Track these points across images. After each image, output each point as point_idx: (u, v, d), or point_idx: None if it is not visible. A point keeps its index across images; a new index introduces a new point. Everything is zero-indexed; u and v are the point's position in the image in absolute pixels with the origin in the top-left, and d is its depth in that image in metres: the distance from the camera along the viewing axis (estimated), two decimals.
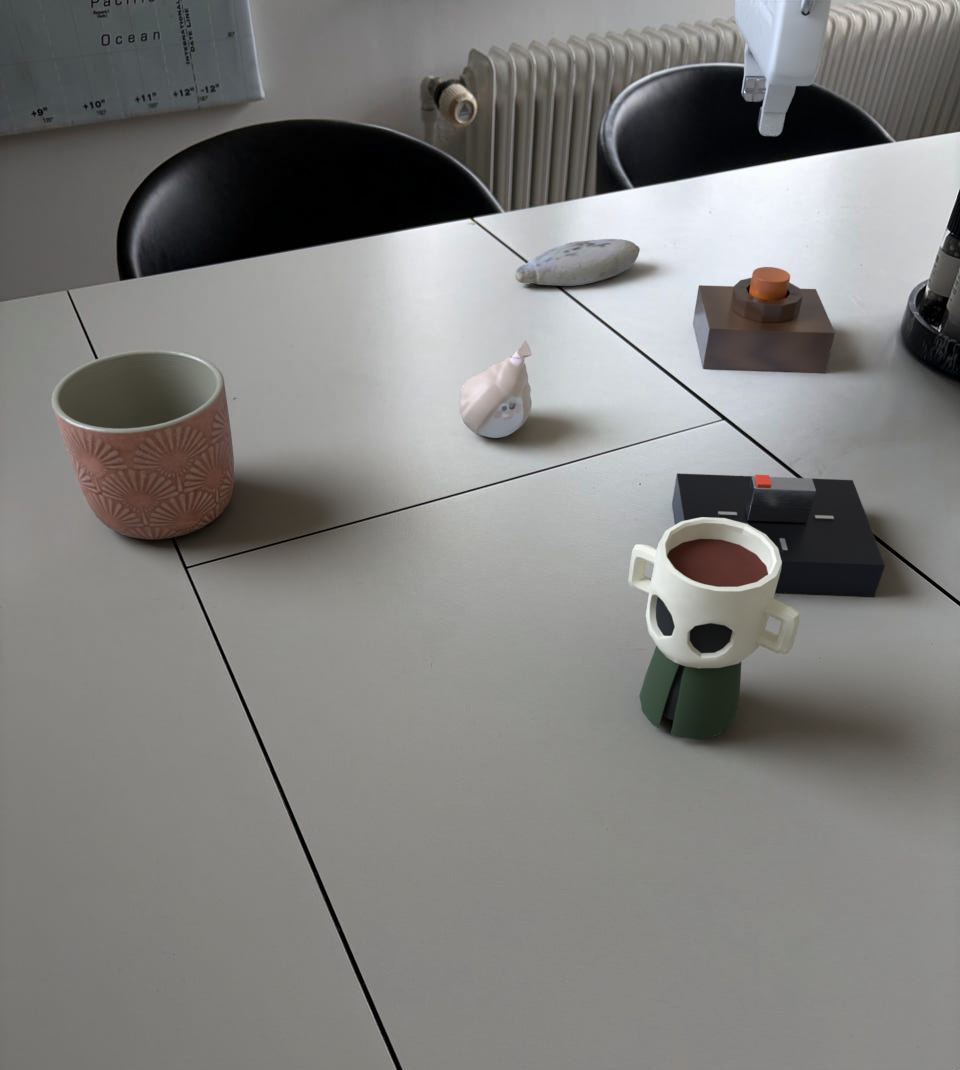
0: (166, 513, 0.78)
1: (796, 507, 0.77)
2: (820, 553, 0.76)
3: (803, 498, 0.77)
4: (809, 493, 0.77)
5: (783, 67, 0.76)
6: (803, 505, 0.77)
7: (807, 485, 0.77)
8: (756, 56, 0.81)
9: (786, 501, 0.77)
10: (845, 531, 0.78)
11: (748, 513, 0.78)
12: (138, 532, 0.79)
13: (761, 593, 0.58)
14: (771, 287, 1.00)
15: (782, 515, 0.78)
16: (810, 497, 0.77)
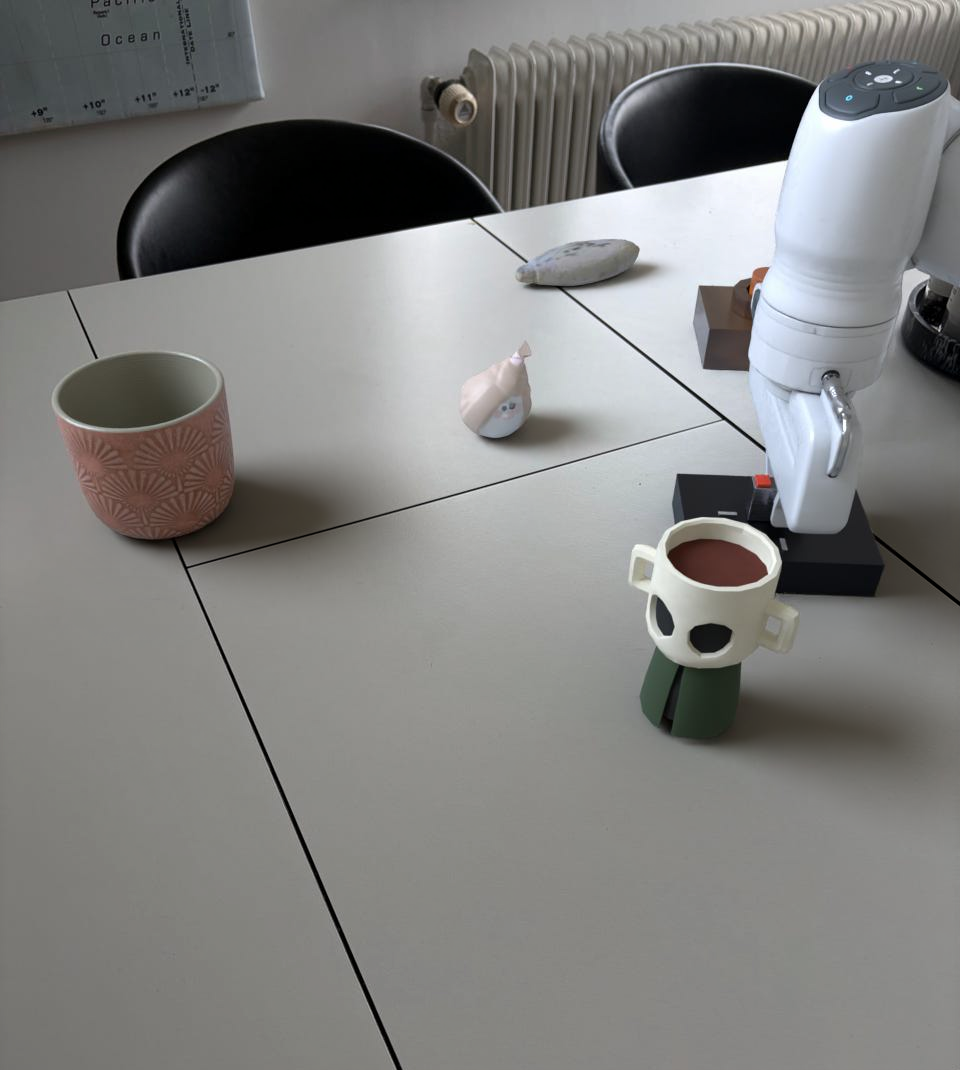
0: (166, 513, 0.78)
1: None
2: (820, 553, 0.76)
3: None
4: None
5: (806, 522, 0.67)
6: None
7: None
8: (774, 476, 0.73)
9: None
10: (845, 531, 0.78)
11: (748, 513, 0.78)
12: (138, 532, 0.79)
13: (761, 593, 0.58)
14: None
15: None
16: None
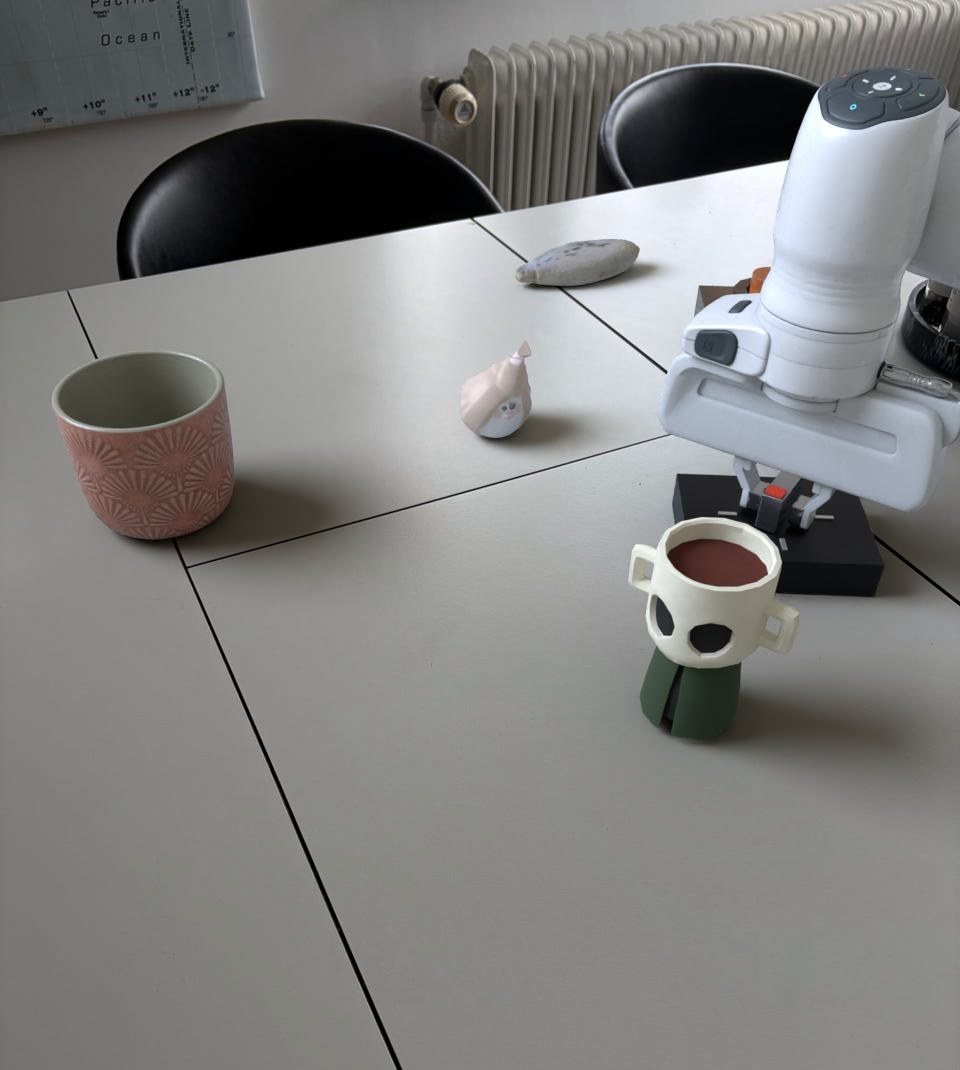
0: (166, 513, 0.78)
1: (795, 497, 0.78)
2: (820, 553, 0.76)
3: (799, 485, 0.78)
4: (802, 478, 0.78)
5: (929, 496, 0.70)
6: (797, 491, 0.79)
7: None
8: (829, 482, 0.73)
9: (792, 496, 0.78)
10: (845, 531, 0.78)
11: (773, 527, 0.77)
12: (138, 532, 0.79)
13: (761, 593, 0.58)
14: None
15: (788, 511, 0.78)
16: (801, 481, 0.78)
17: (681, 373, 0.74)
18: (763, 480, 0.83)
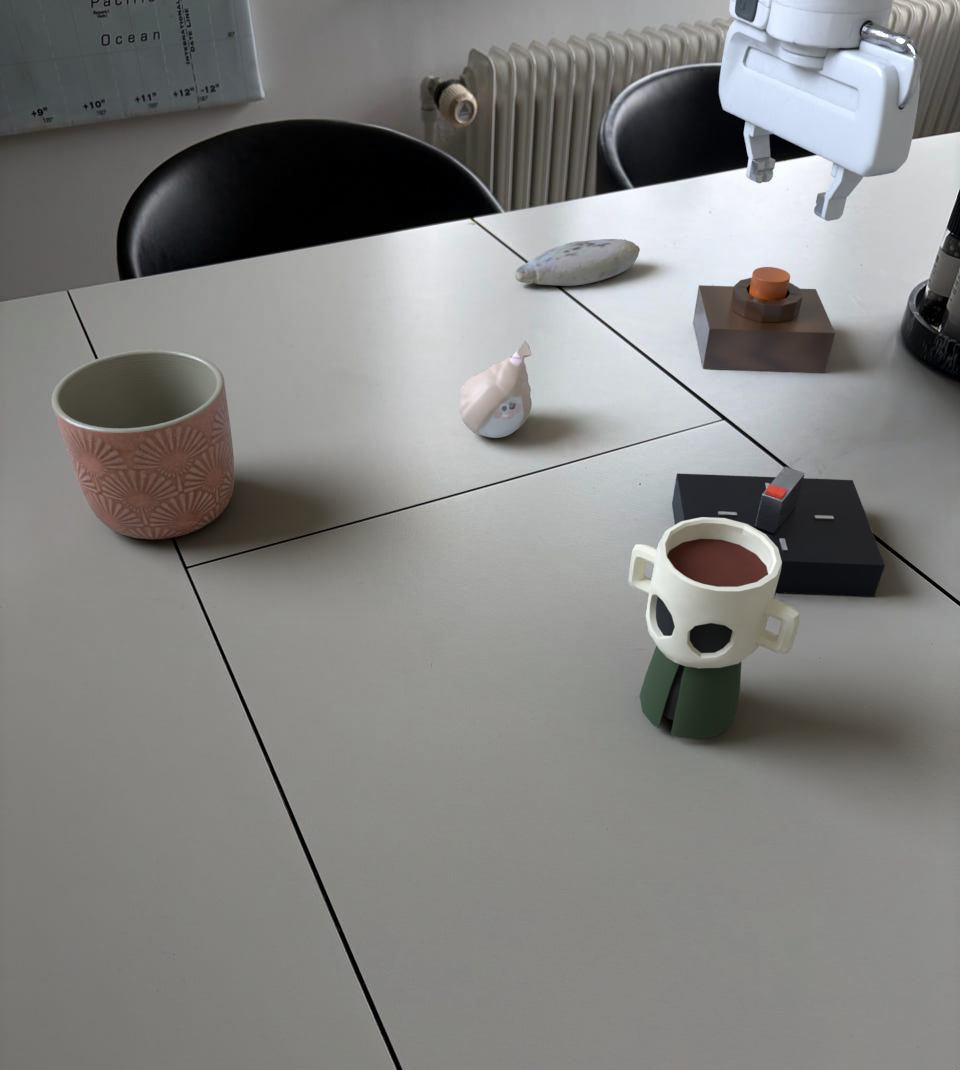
0: (166, 513, 0.78)
1: (795, 497, 0.78)
2: (820, 553, 0.76)
3: (799, 485, 0.78)
4: (802, 478, 0.78)
5: (882, 160, 0.76)
6: (797, 491, 0.79)
7: (795, 473, 0.78)
8: (814, 147, 0.81)
9: (792, 496, 0.78)
10: (845, 531, 0.78)
11: (773, 527, 0.77)
12: (138, 532, 0.79)
13: (761, 593, 0.58)
14: (771, 287, 1.00)
15: (788, 511, 0.78)
16: (801, 481, 0.78)
17: (730, 40, 0.85)
18: (763, 480, 0.83)
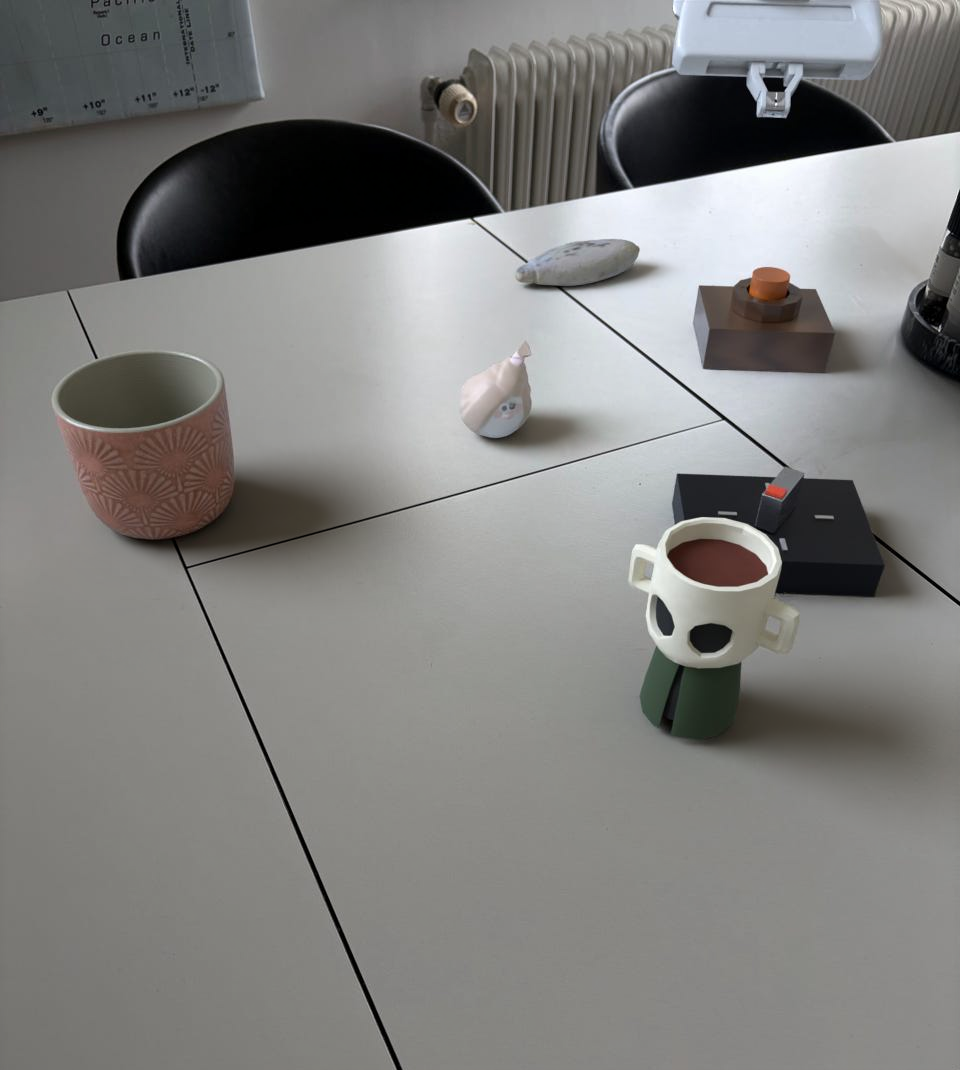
0: (166, 513, 0.78)
1: (795, 497, 0.78)
2: (820, 553, 0.76)
3: (799, 485, 0.78)
4: (802, 478, 0.78)
5: (672, 57, 1.05)
6: (797, 491, 0.79)
7: (795, 473, 0.78)
8: None
9: (792, 496, 0.78)
10: (845, 531, 0.78)
11: (773, 527, 0.77)
12: (138, 532, 0.79)
13: (762, 593, 0.58)
14: (771, 287, 1.00)
15: (788, 511, 0.78)
16: (801, 481, 0.78)
17: None
18: (763, 480, 0.83)
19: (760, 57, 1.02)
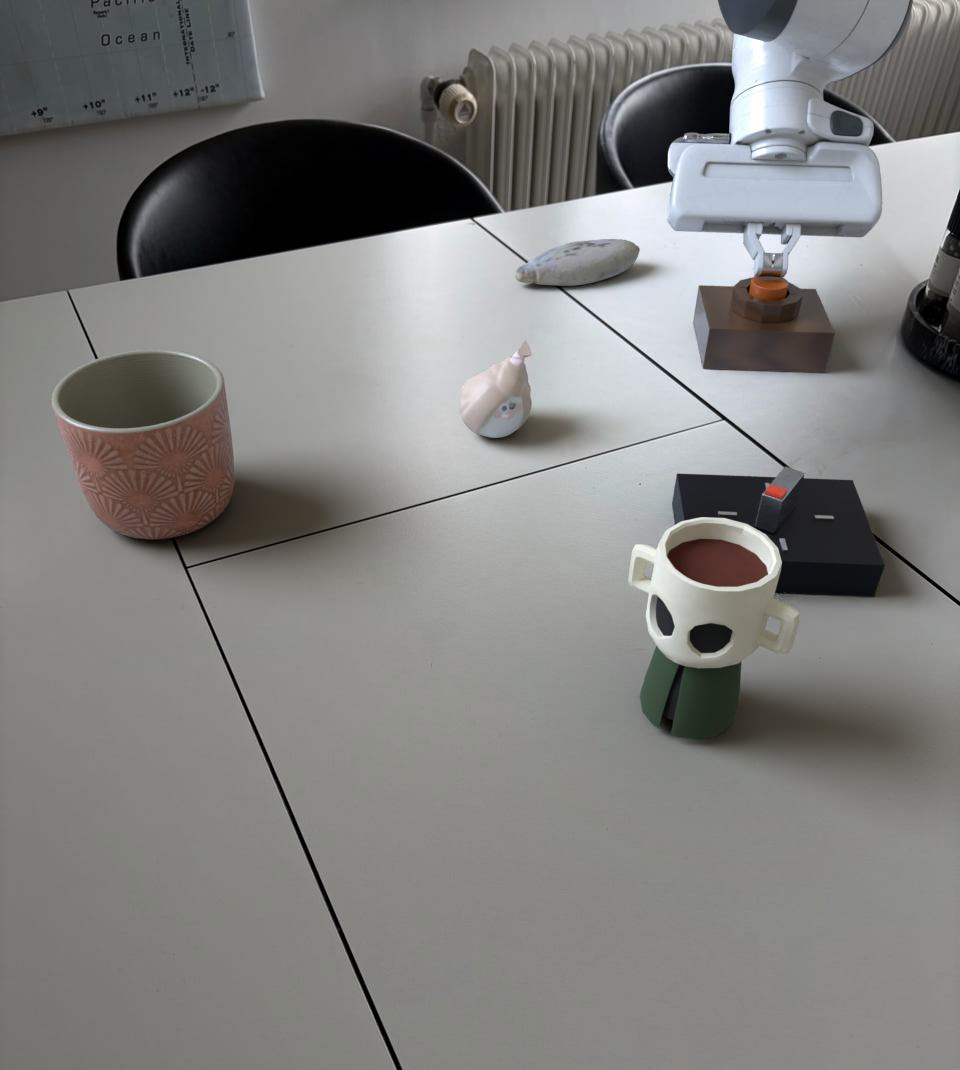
0: (166, 513, 0.78)
1: (795, 497, 0.78)
2: (820, 553, 0.76)
3: (799, 485, 0.78)
4: (802, 478, 0.78)
5: (667, 214, 1.03)
6: (797, 491, 0.79)
7: (795, 473, 0.78)
8: None
9: (792, 496, 0.78)
10: (845, 531, 0.78)
11: (773, 527, 0.77)
12: (138, 532, 0.79)
13: (761, 593, 0.58)
14: (770, 294, 1.00)
15: (788, 511, 0.78)
16: (801, 481, 0.78)
17: None
18: (763, 480, 0.83)
19: (757, 218, 1.00)
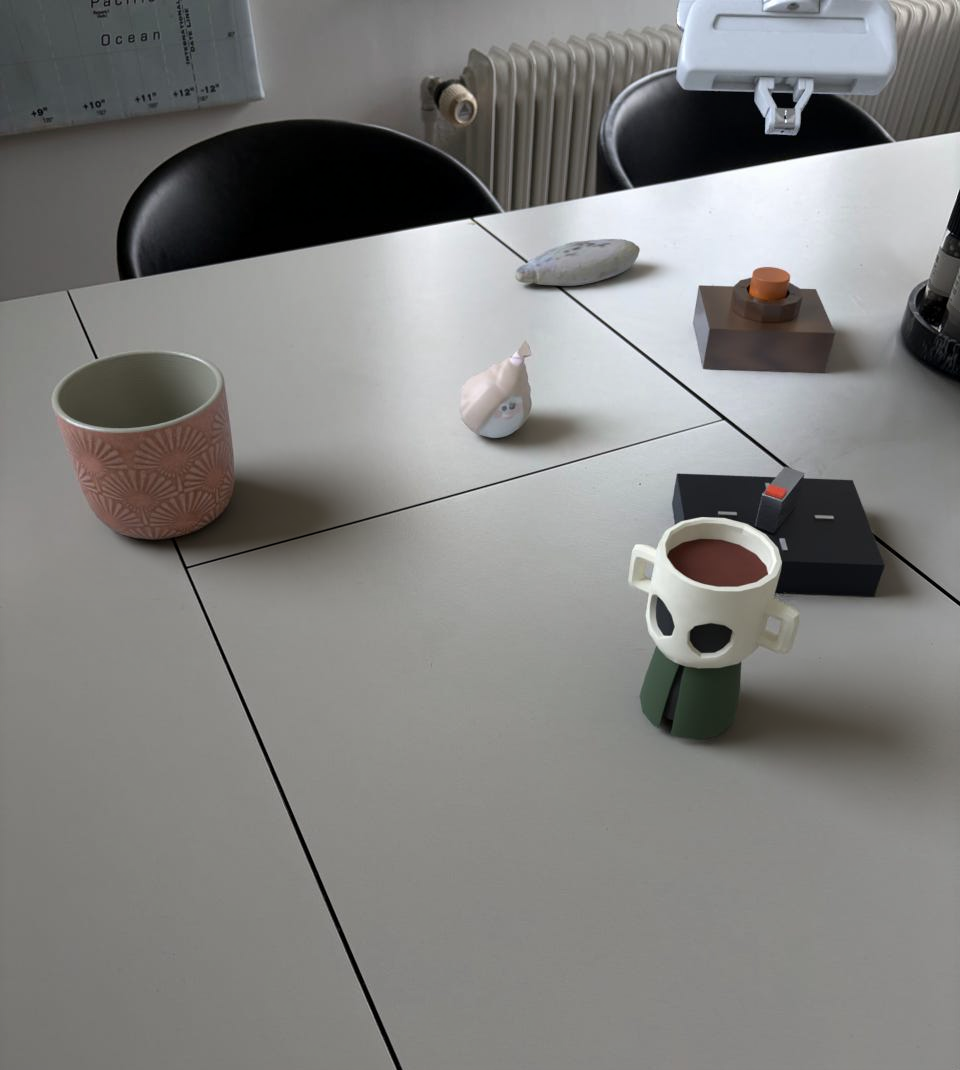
0: (166, 513, 0.78)
1: (795, 497, 0.78)
2: (820, 553, 0.76)
3: (799, 485, 0.78)
4: (802, 478, 0.78)
5: (677, 72, 1.00)
6: (797, 491, 0.79)
7: (795, 473, 0.78)
8: None
9: (792, 496, 0.78)
10: (845, 531, 0.78)
11: (773, 527, 0.77)
12: (138, 532, 0.79)
13: (761, 593, 0.58)
14: (771, 287, 1.00)
15: (788, 511, 0.78)
16: (801, 481, 0.78)
17: None
18: (763, 480, 0.83)
19: (769, 72, 0.97)
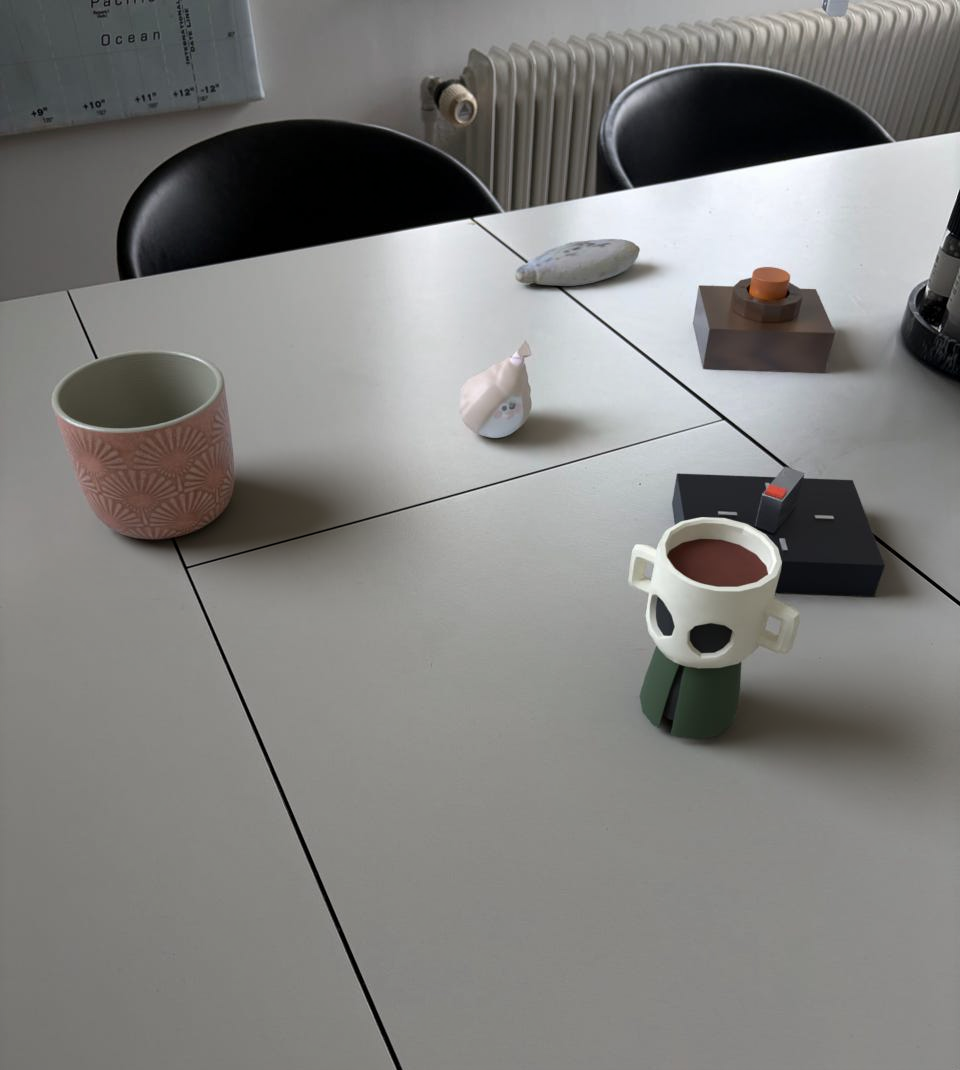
0: (166, 513, 0.78)
1: (795, 497, 0.78)
2: (820, 553, 0.76)
3: (799, 485, 0.78)
4: (802, 478, 0.78)
5: None
6: (797, 491, 0.79)
7: (795, 473, 0.78)
8: None
9: (792, 496, 0.78)
10: (845, 531, 0.78)
11: (773, 527, 0.77)
12: (138, 532, 0.79)
13: (761, 593, 0.58)
14: (771, 287, 1.00)
15: (788, 511, 0.78)
16: (801, 481, 0.78)
17: None
18: (763, 480, 0.83)
19: None
